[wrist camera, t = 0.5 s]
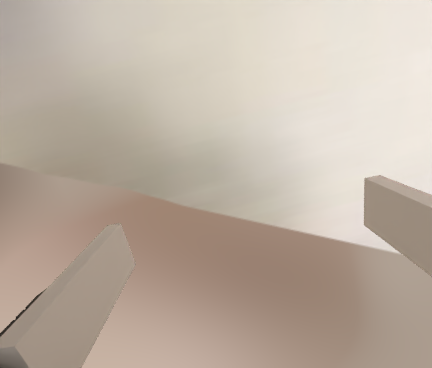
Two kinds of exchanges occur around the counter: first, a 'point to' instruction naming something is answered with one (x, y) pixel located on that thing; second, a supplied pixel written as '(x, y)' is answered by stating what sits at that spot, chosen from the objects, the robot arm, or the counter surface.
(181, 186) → the counter surface
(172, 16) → the counter surface
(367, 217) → the robot arm
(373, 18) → the counter surface
